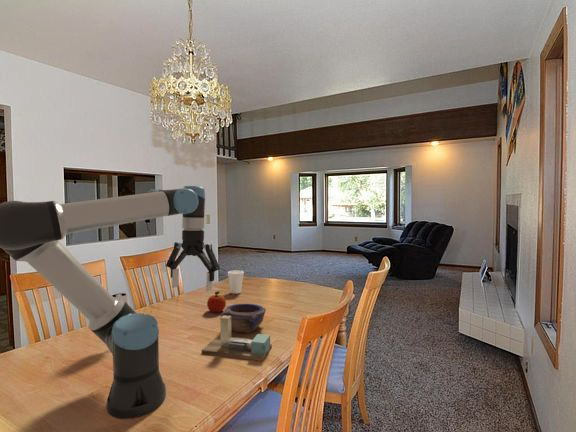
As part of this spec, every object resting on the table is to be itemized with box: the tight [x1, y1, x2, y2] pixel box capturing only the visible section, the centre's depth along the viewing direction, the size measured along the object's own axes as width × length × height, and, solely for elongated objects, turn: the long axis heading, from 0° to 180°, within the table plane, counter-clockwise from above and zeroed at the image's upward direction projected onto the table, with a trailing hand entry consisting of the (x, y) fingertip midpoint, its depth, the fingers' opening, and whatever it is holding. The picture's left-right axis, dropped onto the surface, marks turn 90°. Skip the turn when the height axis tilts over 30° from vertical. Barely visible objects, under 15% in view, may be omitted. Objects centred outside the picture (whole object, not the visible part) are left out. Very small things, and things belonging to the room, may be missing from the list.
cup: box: [227, 269, 245, 295], centre depth 199 cm, size 10×10×13 cm
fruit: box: [206, 290, 227, 313], centre depth 166 cm, size 10×10×10 cm
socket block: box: [251, 333, 271, 355], centre depth 120 cm, size 7×5×4 cm
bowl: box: [220, 303, 266, 334], centre depth 142 cm, size 18×18×10 cm
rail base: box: [201, 336, 273, 362], centre depth 122 cm, size 11×24×4 cm, turn 76°
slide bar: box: [219, 315, 253, 350], centre depth 121 cm, size 3×17×11 cm, turn 76°
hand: (192, 288), depth 115 cm, fingers open, 13 cm apart
